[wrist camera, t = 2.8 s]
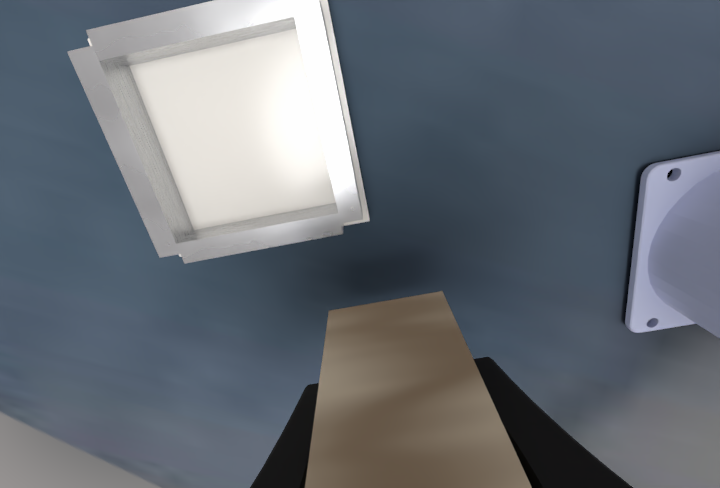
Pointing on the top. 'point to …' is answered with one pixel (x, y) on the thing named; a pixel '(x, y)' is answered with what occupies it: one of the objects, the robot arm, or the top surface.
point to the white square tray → (141, 145)
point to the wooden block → (405, 404)
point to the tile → (243, 128)
